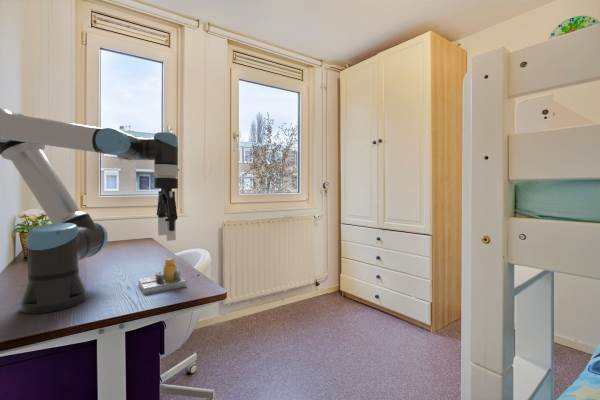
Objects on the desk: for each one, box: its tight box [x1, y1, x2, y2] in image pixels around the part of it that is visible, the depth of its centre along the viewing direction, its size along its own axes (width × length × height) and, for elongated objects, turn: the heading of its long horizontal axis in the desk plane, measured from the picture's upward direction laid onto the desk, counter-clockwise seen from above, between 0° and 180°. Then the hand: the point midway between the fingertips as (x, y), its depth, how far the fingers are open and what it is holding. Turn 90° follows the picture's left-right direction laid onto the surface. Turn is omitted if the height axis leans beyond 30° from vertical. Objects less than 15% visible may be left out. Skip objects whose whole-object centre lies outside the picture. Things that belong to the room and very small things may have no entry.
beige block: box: [162, 258, 177, 281], centre depth 105 cm, size 4×4×7 cm
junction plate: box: [138, 268, 187, 295], centre depth 103 cm, size 13×12×4 cm
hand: (166, 237), depth 104 cm, fingers open, 13 cm apart
